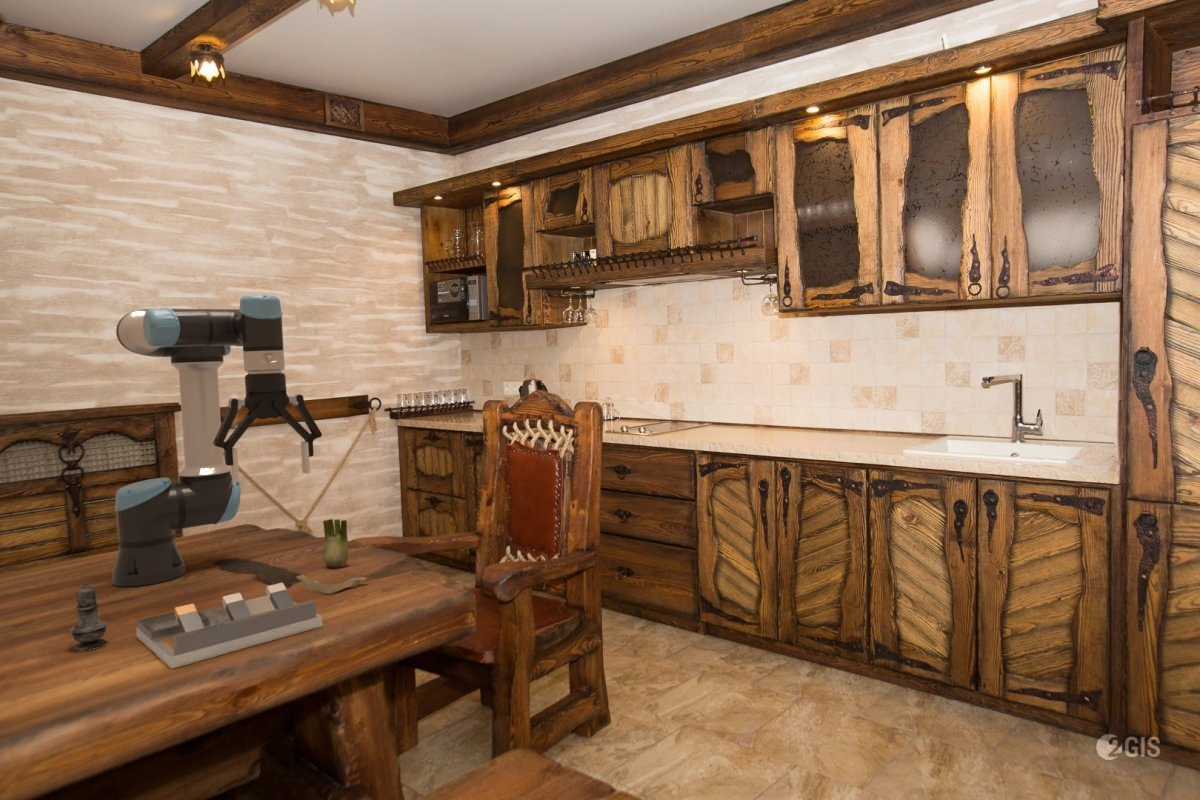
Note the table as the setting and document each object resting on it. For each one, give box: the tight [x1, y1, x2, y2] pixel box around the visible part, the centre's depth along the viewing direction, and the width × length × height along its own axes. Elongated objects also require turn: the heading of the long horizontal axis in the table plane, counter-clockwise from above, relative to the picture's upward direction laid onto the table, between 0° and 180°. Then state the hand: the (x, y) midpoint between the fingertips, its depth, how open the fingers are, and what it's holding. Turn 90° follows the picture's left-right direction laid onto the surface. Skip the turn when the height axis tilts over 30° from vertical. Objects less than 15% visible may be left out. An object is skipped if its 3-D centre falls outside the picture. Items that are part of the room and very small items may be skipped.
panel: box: [135, 594, 323, 670], centre depth 144 cm, size 22×26×5 cm
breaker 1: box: [221, 592, 252, 621], centre depth 140 cm, size 8×3×2 cm, turn 44°
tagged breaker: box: [174, 603, 204, 633], centre depth 134 cm, size 8×3×2 cm, turn 44°
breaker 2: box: [265, 582, 296, 610], centre depth 145 cm, size 8×3×2 cm, turn 44°
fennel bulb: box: [322, 518, 349, 568], centre depth 187 cm, size 6×5×12 cm
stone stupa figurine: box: [69, 581, 109, 652], centre depth 139 cm, size 6×6×12 cm
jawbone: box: [296, 574, 369, 596], centre depth 171 cm, size 9×20×2 cm, turn 68°
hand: (271, 477), depth 154 cm, fingers open, 13 cm apart
